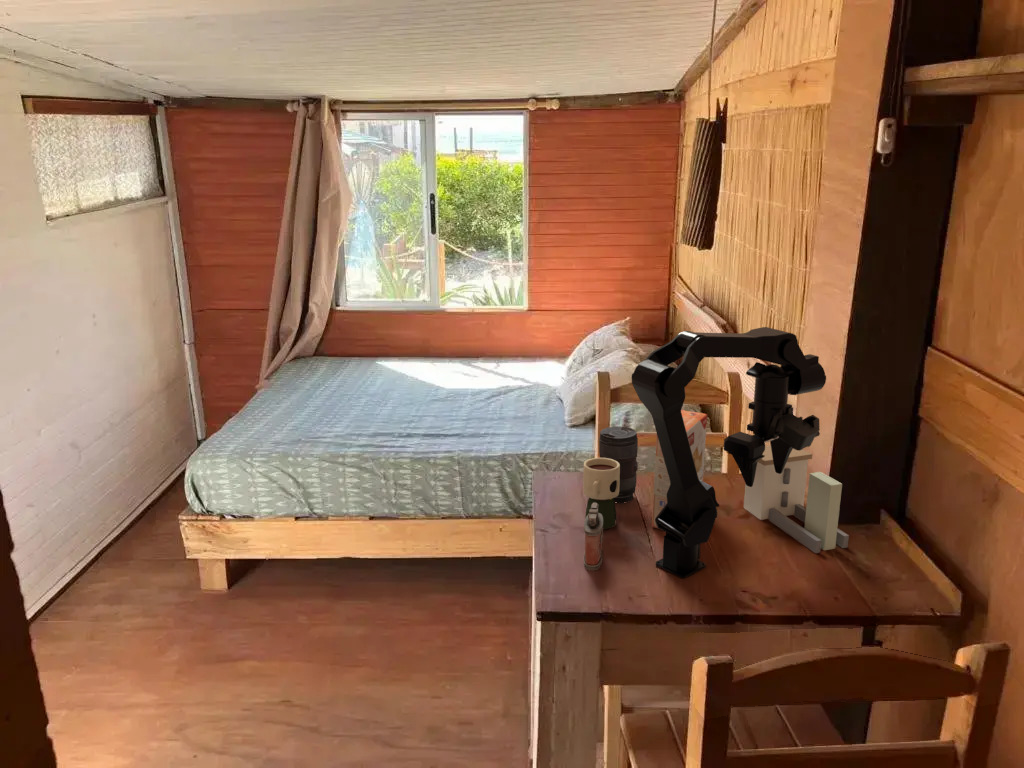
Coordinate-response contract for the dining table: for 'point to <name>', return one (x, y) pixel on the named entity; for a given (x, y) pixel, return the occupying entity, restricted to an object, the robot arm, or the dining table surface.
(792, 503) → the cabinet
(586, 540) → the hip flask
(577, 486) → the dining table surface
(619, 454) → the camera lens
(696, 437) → the cracker box
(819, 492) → the rectangular block
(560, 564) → the dining table surface
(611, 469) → the character mug
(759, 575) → the dining table surface
